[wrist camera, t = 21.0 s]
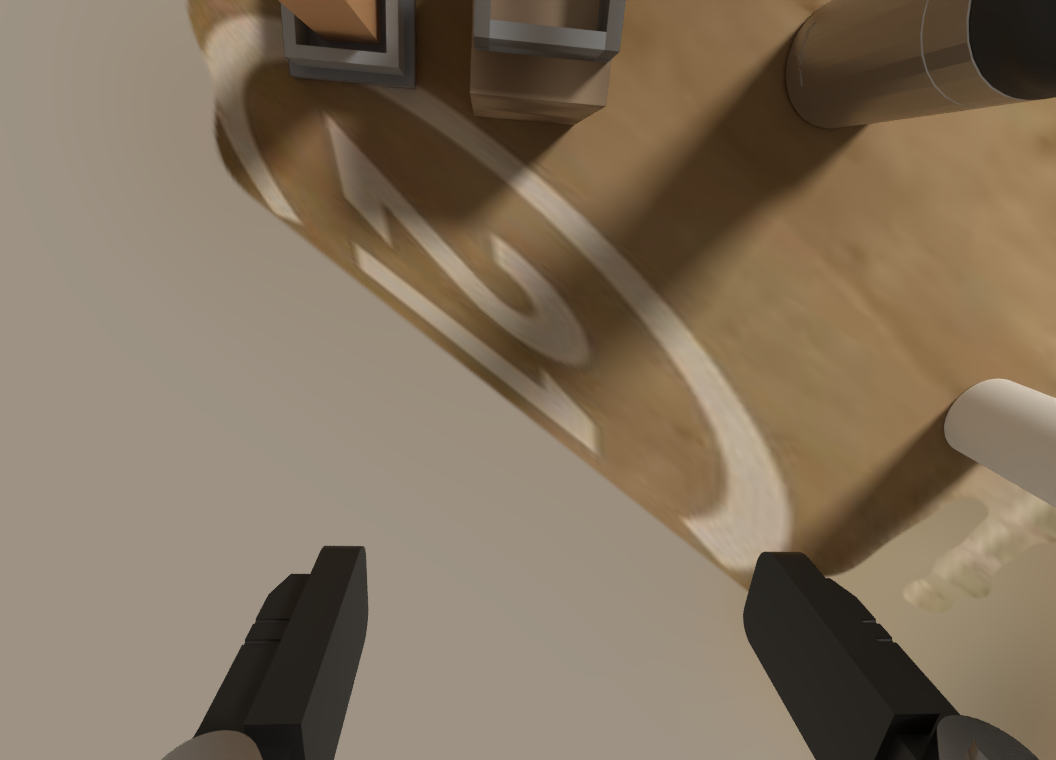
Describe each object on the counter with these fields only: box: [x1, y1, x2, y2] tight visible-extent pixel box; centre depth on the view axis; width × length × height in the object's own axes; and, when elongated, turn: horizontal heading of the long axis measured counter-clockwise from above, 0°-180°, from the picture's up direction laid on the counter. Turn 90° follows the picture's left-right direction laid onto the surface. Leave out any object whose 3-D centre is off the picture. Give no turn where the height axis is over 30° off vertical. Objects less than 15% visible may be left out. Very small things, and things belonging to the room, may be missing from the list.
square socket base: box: [470, 0, 626, 125], centre depth 33 cm, size 8×12×15 cm, turn 176°
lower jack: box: [281, 0, 416, 89], centre depth 37 cm, size 9×9×4 cm
